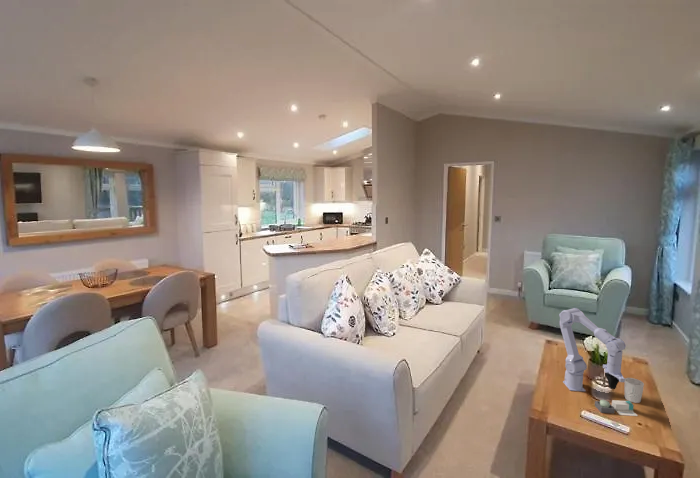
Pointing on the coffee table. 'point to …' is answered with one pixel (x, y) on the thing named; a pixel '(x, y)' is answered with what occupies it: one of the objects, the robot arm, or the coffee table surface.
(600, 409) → the button housing
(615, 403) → the eraser
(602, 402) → the button
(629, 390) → the white cup
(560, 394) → the coffee table surface
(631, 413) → the paper
